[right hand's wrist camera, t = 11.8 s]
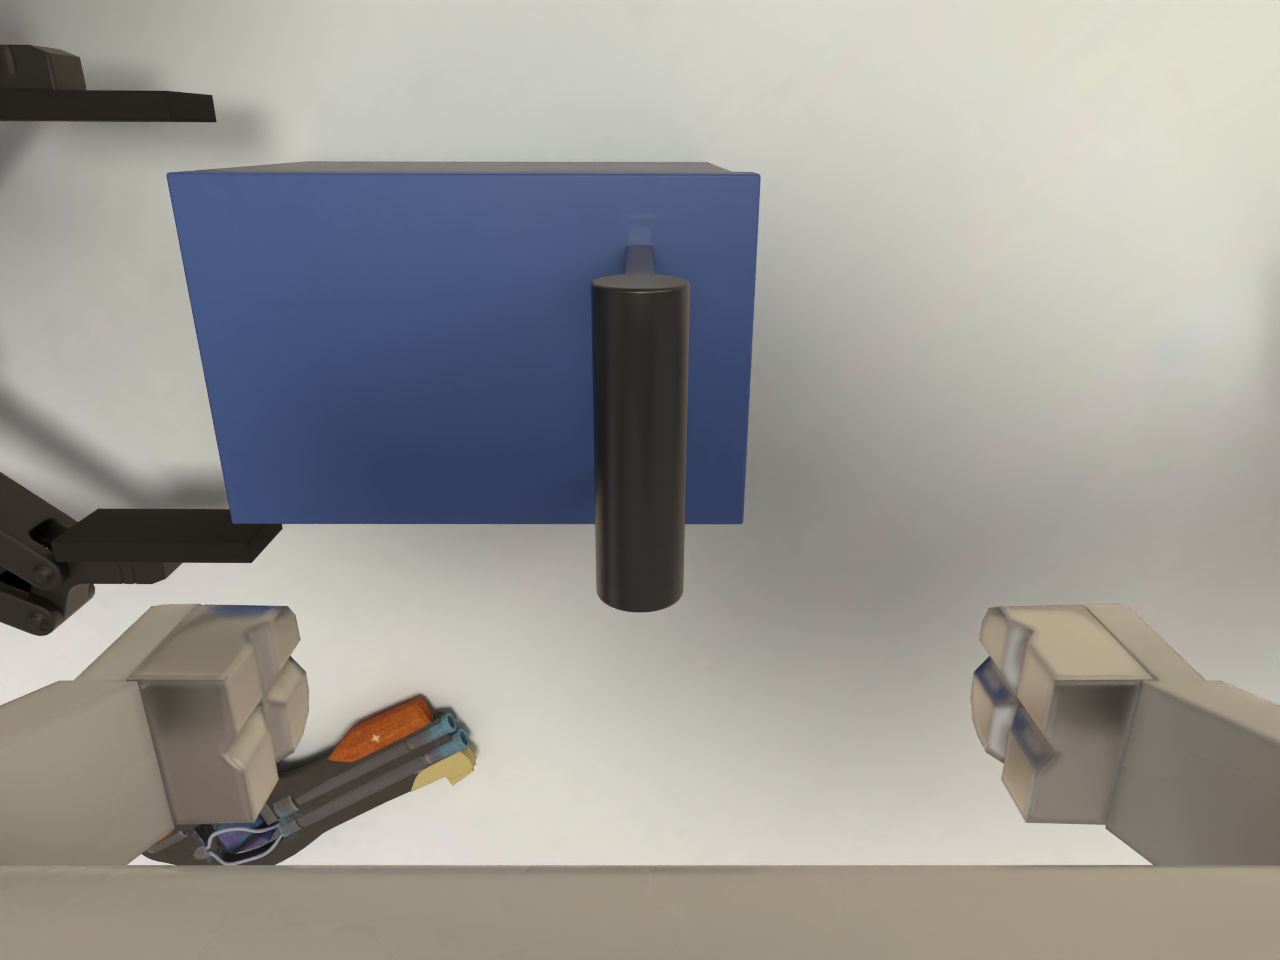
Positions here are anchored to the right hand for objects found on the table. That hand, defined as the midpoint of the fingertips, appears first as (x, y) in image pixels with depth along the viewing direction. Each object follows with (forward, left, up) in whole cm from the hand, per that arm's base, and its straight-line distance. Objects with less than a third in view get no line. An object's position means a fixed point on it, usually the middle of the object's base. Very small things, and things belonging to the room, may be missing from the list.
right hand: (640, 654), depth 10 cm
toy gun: (-9, +26, -25) cm, 37 cm away
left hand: (+6, +11, -18) cm, 22 cm away
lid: (+2, +4, -16) cm, 17 cm away
